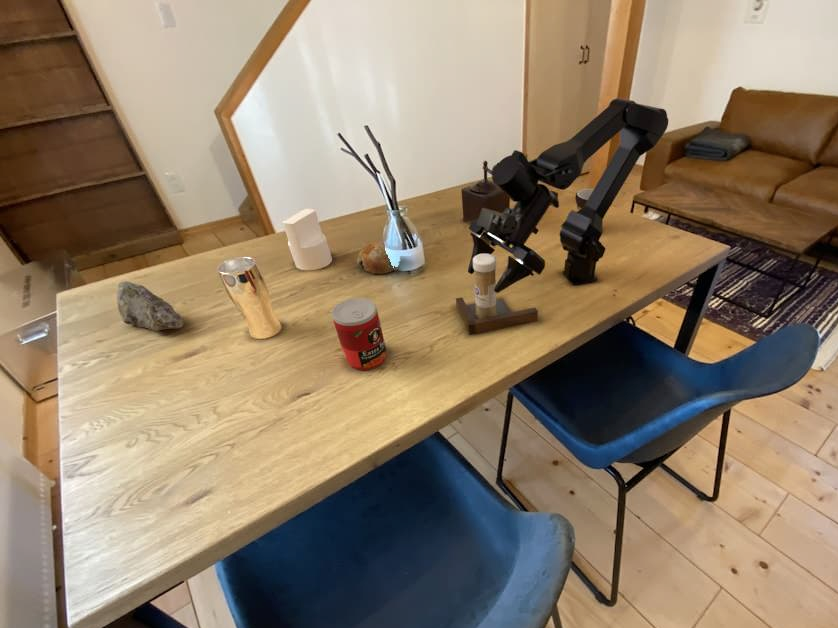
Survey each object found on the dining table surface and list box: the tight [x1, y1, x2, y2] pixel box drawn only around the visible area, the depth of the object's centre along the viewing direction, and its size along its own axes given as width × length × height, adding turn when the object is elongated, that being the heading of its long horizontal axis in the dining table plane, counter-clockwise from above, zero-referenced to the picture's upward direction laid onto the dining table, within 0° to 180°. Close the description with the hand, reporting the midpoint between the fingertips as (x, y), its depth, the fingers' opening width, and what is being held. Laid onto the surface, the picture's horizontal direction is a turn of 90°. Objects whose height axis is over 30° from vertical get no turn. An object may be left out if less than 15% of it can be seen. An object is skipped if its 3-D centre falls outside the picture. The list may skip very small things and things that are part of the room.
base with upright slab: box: [282, 208, 333, 271], centre depth 108 cm, size 9×9×12 cm
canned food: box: [331, 297, 387, 371], centre depth 80 cm, size 8×8×11 cm
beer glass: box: [216, 256, 282, 340], centre depth 85 cm, size 7×7×15 cm
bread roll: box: [356, 240, 399, 275], centre depth 109 cm, size 10×10×8 cm
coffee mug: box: [575, 188, 594, 212], centre depth 123 cm, size 12×9×10 cm
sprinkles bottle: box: [473, 254, 497, 319], centre depth 89 cm, size 5×5×13 cm
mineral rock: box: [116, 280, 184, 332], centre depth 88 cm, size 13×11×10 cm
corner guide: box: [455, 296, 539, 336], centre depth 93 cm, size 15×10×2 cm
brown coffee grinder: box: [460, 160, 511, 225], centre depth 124 cm, size 16×11×18 cm
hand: (482, 282), depth 87 cm, fingers open, 9 cm apart
